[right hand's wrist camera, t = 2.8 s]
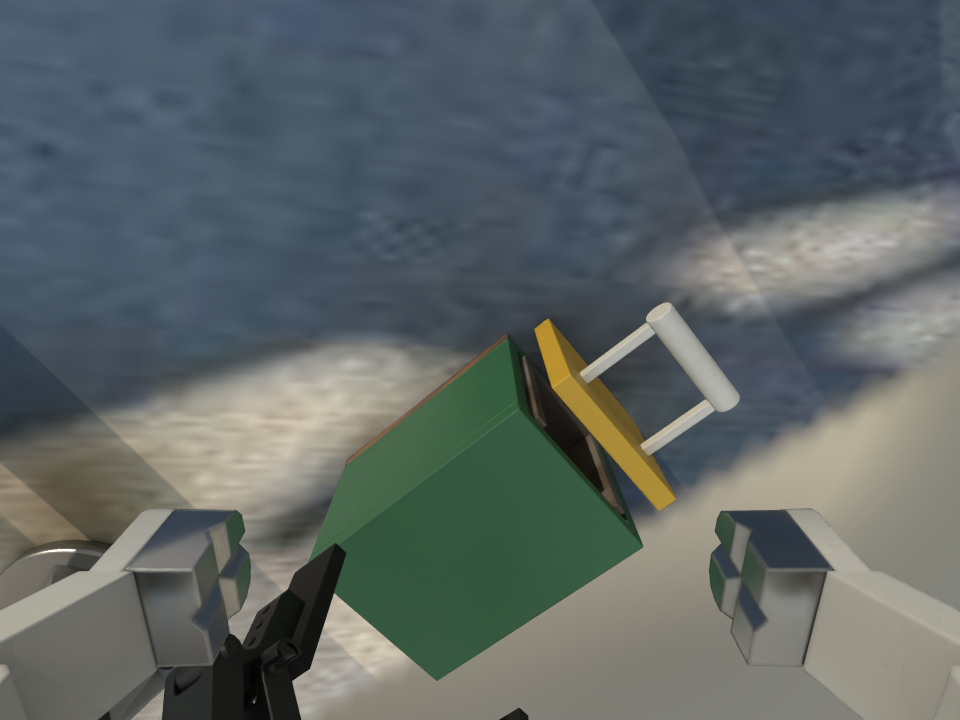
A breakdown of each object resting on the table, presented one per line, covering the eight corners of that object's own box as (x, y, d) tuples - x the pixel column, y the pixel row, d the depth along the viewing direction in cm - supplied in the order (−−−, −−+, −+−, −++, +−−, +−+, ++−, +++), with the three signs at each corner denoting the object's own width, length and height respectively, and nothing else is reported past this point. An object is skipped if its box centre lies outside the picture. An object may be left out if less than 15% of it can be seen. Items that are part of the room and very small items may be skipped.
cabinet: (506, 333, 41) (519, 407, 30) (601, 442, 44) (644, 547, 33) (347, 459, 44) (304, 568, 33) (445, 553, 47) (436, 682, 36)
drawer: (625, 257, 38) (672, 297, 29) (708, 367, 40) (775, 435, 31) (393, 438, 42) (371, 522, 33) (482, 526, 45) (484, 627, 36)
